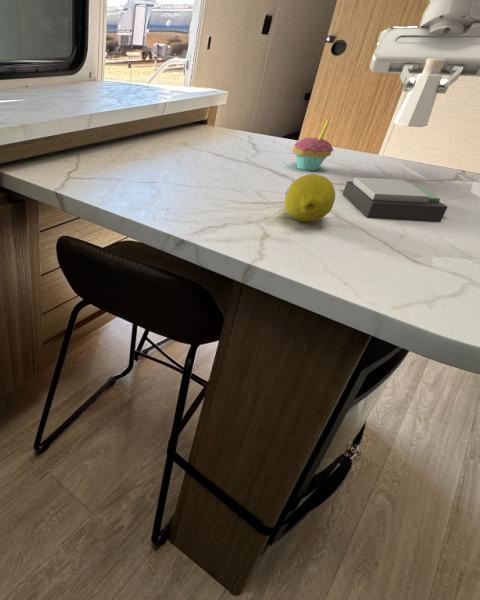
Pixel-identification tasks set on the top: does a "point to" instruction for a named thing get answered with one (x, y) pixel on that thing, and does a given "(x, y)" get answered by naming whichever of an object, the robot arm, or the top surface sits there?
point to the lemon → (309, 198)
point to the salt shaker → (421, 96)
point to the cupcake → (312, 151)
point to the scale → (393, 199)
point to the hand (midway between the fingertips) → (424, 90)
